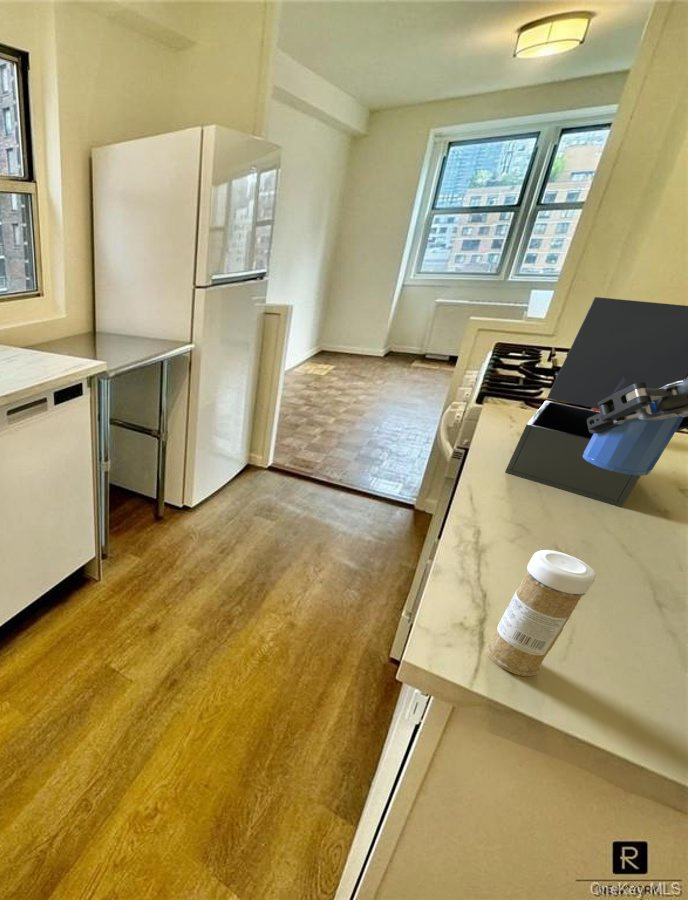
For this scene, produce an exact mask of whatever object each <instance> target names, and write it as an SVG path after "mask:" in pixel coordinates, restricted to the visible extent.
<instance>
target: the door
mask: <svg viewBox="0 0 688 900" xmlns="http://www.w3.org/2000/svg"><path fill="white" fill-rule="evenodd" d="M687 376H688V305H684V304H673V303H661V302H652V301H643V300H641V301H640V300H630V299H620V298H610V297H609V298H607V297H599V296H595V297H594V298H593V299H592V303H591V304H590V307H589V308H588V311H587V313H586V315H585V317H584V319H583V321H582V323H581V324H580V328H579V329H578V332H577V334H576V335H575V338H574V340H573V342H572V344H571V346H570V348H569V350H568V353H567V355H566V357H565V358H564V361H563V362H562V365H561V367H560V369H559V371H558V373H557V376H556V378H555V380H554V382H553V384H552V386H551V389H550V390H549V393H548V395H547V397H546V399H549V400H553V401H558V402H563V403H567V404H573V405H578V406H582V407H587V408H590V409H592V408H596V409H600V408H599V406H598V402H599V401H601V400H603V399H605V398H607V397H609V396H611V395H613V394H615V393H617V392H619V391H621V390H623V389H624V388H626V387H628V386H630V385H632V384H635V383H639V382H646V383H647V387H648V389H658V388H662V387H663V386H665V385H668V384H670V383H673V382H677V381H681V380H685V379H686V378H687ZM652 402H655V400H653V401H652Z"/></svg>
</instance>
